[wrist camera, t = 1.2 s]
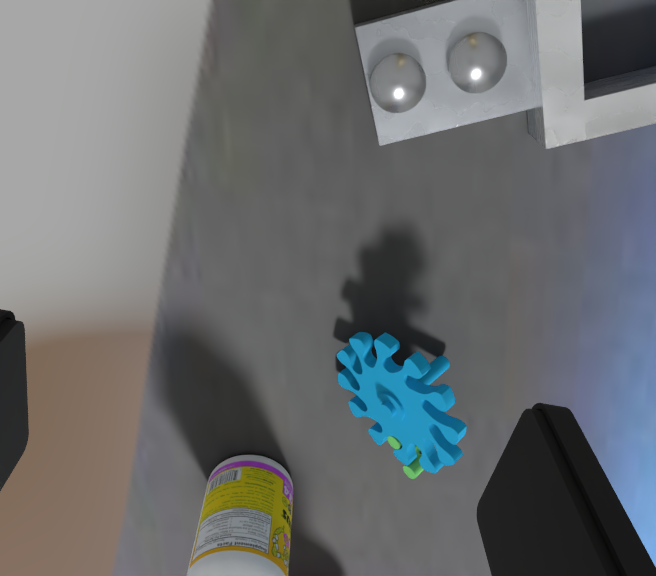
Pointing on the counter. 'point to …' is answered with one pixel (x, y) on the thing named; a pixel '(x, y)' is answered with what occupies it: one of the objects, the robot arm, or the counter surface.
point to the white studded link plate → (494, 72)
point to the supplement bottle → (244, 520)
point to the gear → (402, 402)
